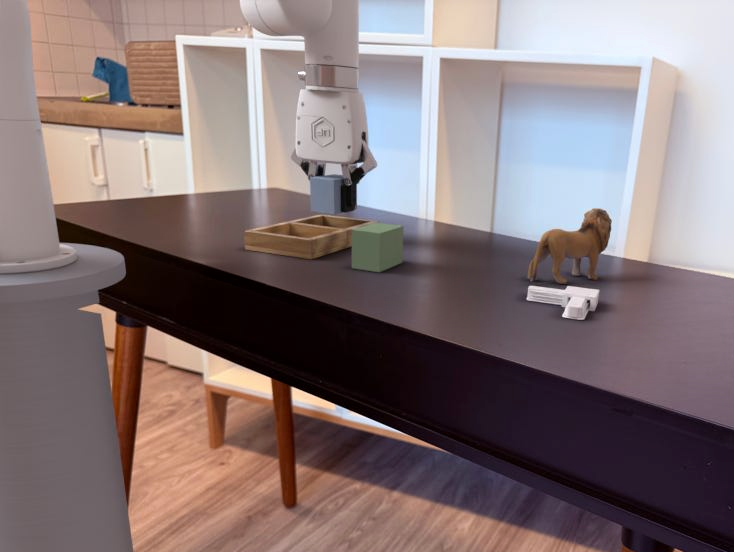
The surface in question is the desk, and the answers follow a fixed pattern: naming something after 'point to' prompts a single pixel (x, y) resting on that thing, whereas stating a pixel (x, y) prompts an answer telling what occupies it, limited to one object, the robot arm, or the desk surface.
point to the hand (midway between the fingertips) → (334, 208)
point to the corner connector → (567, 299)
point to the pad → (377, 247)
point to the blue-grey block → (327, 194)
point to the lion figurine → (574, 245)
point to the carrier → (305, 236)
